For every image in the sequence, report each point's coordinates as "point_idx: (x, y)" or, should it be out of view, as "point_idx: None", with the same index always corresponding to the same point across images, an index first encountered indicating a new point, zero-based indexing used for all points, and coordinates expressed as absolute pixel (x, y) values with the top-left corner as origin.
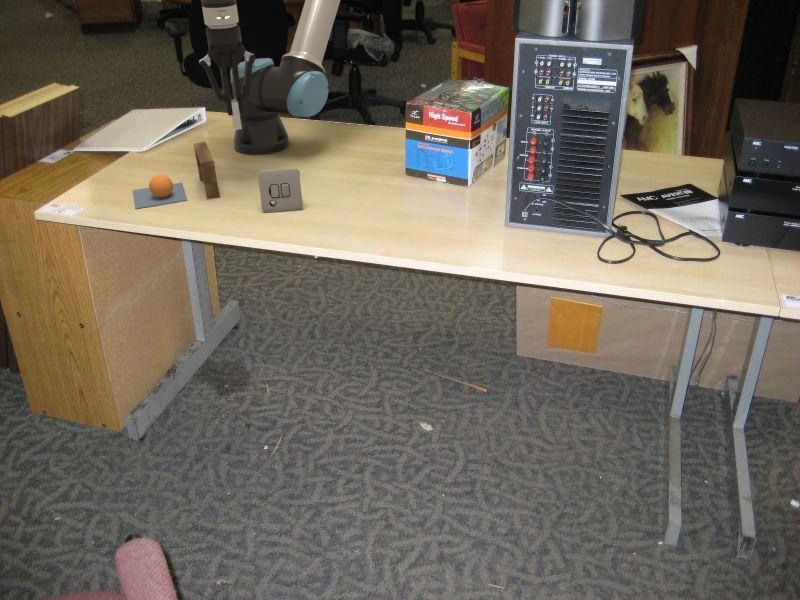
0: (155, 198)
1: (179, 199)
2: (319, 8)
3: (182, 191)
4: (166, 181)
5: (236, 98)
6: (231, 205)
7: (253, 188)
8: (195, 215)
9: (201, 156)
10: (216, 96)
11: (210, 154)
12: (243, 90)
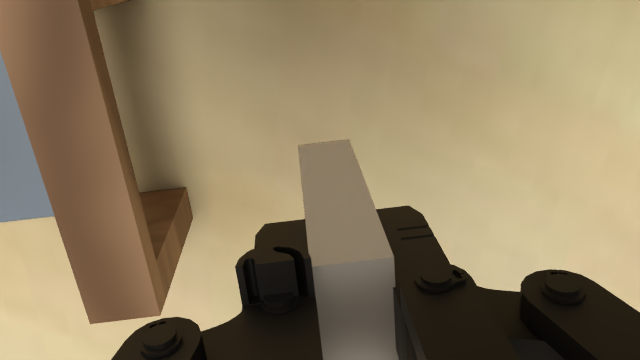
0: None
1: (20, 202)
2: None
3: (15, 119)
4: None
5: (400, 345)
6: (238, 296)
7: None
8: (111, 340)
9: (79, 236)
10: (124, 349)
11: (131, 219)
12: (554, 342)
